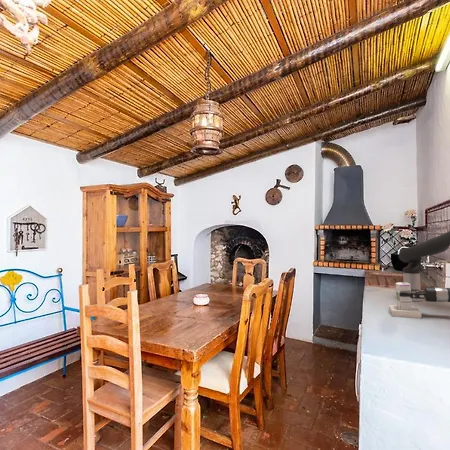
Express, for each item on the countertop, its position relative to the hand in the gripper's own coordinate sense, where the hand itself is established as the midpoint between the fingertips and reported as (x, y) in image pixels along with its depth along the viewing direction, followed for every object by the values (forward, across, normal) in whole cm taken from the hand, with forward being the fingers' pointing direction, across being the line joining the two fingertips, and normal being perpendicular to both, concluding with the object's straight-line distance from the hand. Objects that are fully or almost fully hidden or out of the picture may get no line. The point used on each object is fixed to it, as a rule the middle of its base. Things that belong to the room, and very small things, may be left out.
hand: (398, 293), depth 160 cm
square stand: (-2, 0, +11) cm, 11 cm away
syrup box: (-2, 0, +9) cm, 9 cm away
